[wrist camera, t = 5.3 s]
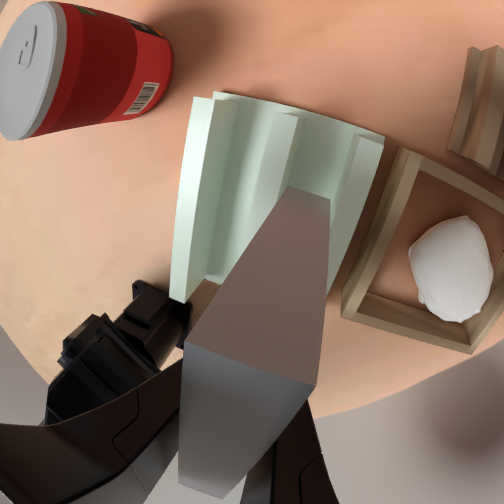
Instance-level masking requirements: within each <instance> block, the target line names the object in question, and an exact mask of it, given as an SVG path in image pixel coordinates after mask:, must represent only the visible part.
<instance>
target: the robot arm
mask: <svg viewBox="0 0 504 504" xmlns="http://www.w3.org/2000/svg"><path fill="white" fill-rule="evenodd" d="M132 292H133V301H132V302H131V303H130V304H129V305H128V306H127V307H126V308H125V309H124V311H123V313H122V314H121V315H120V316H119V317H118V318H117V319H116V320H115V321H114V322H112V321H111V320H110V319H109V316H108V315H107V314H106V313H104V314H103V315H102V316H101V317H99V316H96V315H94V314H92V315H91V316H90V317H88V318H87V319H86V320H85V321H84V322H83V323H82V324H81V325H80V326H79V327H78V328H77V329H75V330H74V331H73V332H72V333H71V334H70V335H68V336H67V337H66V338H65V339H64V340H63V351H62V352H61V355H62V356H61V357H60V358H59V360H58V361H57V362H58V363H59V364H60V365H61V367H62V368H63V369H62V370H61V371H60V372H59V373H58V374H57V375H56V376H55V378H54V379H53V381H52V382H51V384H50V385H49V388H48V396H47V404H46V414H45V419H44V420H43V421H42V422H41V423H40V424H39V425H38V426H31V425H30V426H29V425H15V424H3V423H0V504H143V503H144V502H145V500H146V499H147V497H148V495H149V494H150V493H151V491H152V490H153V488H154V487H155V485H156V483H157V482H158V480H159V479H160V478H161V476H162V474H163V473H164V471H165V470H166V468H167V467H168V465H169V463H170V462H171V461H172V459H173V458H174V456H175V454H176V453H177V451H178V450H179V417H180V396H181V379H182V365H183V358H181V359H180V360H178V361H177V362H175V363H174V364H172V365H171V366H169V367H167V368H166V369H164V370H163V371H161V370H160V368H161V367H162V365H163V364H164V362H165V361H166V359H167V358H168V356H169V355H170V353H171V352H172V351H173V349H174V348H175V347H177V348H180V349H182V350H184V341H185V339H186V338H187V336H188V335H189V333H190V327H191V318H192V309H193V306H192V304H191V303H189V302H187V301H186V302H185V303H182V302H179V301H177V300H174V299H172V298H170V297H169V294H168V293H165V292H163V291H160V290H158V289H156V288H153V287H151V286H149V285H146V284H144V283H142V282H139V281H135V282H134V283H133V284H132ZM187 307H188V308H187ZM321 452H322V451H321V447H320V443H319V440H318V436H317V432H316V428H315V424H314V421H313V417H312V413H311V410H310V406H309V402H308V399H307V400H306V401H305V403H304V404H303V405H302V407H301V408H300V409H299V411H298V412H297V413H296V415H295V416H294V417H293V419H292V420H291V421H290V423H289V424H288V425H287V427H286V428H285V429H284V431H283V432H282V433H281V434H280V436H279V437H278V438H277V439H276V441H275V442H274V443H273V444H272V445H271V447H270V448H269V449H268V450H267V451H266V453H265V454H264V455H263V456H262V457H261V459H260V460H259V461H258V462H257V463H256V464H255V465H254V467H253V468H252V469H251V470H250V471H249V472H248V473H247V477H246V481H245V485H244V489H243V494H242V497H241V501H240V504H339V502H338V499H337V497H336V494H335V492H334V489H333V487H332V484H331V481H330V479H329V475H328V472H327V469H326V465H325V462H324V458H323V454H322V453H321Z"/></svg>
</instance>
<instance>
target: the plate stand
mask: <svg viewBox="0 0 504 504" xmlns="http://www.w3.org/2000/svg"><path fill="white" fill-rule="evenodd" d="M446 149H447V150H449V151H451V152H453V153H455V154H457V155H459V156H460V157H462V158H464V159H466V160H468V161H469V162H471V163H473V164H474V165H476V166H478V167H479V168H481V169H483V170H484V171H486V172H488V173H489V174H491V175H492V176H494V177H496V178H497V179H499V180H500V181H502V182H503V183H504V50H503V49H502V48H501V47H499V46H498V45H496V46H493V47H491V48H488V49H485V50H483V51H480V50H478V49H477V48H475V47H471V48H468V56H467V62H466V69H465V74H464V80H463V85H462V90H461V95H460V99H459V104H458V108H457V112H456V116H455V120H454V124H453V128H452V131H451V135H450V138H449V142H448V145H447V148H446Z"/></svg>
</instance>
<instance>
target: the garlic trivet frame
mask: <svg viewBox="0 0 504 504" xmlns="http://www.w3.org/2000/svg"><path fill="white" fill-rule="evenodd" d="M418 170H421V171H423V172H426V173H428V174H430V175H432V176H434V177H436V178H438V179H440V180H442V181H444V182H446V183H448V184H450V185H452V186H454V187H456V188H458V189H460V190H462V191H464V192H466V193H467V194H469V195H471V196H473V197H475V198H477V199H478V200H480V201H482V202H484V203H485V204H487V205H489V206H490V207H492V208H494V209H495V210H497V211H499V212H500V213H502V214H503V215H504V200H502V199H501V198H499V197H497V196H496V195H494V194H493V193H491V192H489V191H488V190H486V189H484V188H483V187H481V186H479V185H478V184H476V183H474V182H472V181H471V180H469V179H467V178H465V177H463V176H462V175H460V174H458V173H456V172H454V171H452V170H450V169H448V168H446V167H444V166H442V165H440V164H438V163H436V162H434V161H432V160H430V159H428V158H426V157H424V156H422V155H419V154H417V153H415V152H413V151H410V150H408V149H405V148H403V147H400V146H398V150H397V153H396V156H395V159H394V162H393V165H392V168H391V171H390V174H389V177H388V180H387V183H386V186H385V188H384V191H383V194H382V197H381V199H380V202H379V205H378V207H377V210H376V213H375V215H374V218H373V220H372V223H371V225H370V228H369V230H368V233H367V235H366V238H365V240H364V243H363V245H362V247H361V250H360V252H359V254H358V257H357V259H356V261H355V264H354V266H353V268H352V270H351V272H350V275H349V277H348V279H347V281H346V283H345V286H344V288H343V290H342V292H341V317H342V318H345V319H348V320H351V321H354V322H358V323H361V324H364V325H368V326H371V327H374V328H377V329H381V330H384V331H388V332H391V333H394V334H398V335H401V336H405V337H408V338H412V339H415V340H419V341H422V342H426V343H430V344H433V345H437V346H441V347H444V348H448V349H452V350H456V351H459V352H463V353H467V354H472V353H473V352H474V351H475V349H476V348H477V347H478V346H479V344H480V343H481V342H482V340H483V339H484V338H485V336H486V335H487V334H488V332H489V331H490V330H491V328H492V327H493V325H494V324H495V322H496V321H497V320H498V318H499V317H500V315H501V314H502V312H503V311H504V251H503V253H502V255H501V257H500V259H499V261H498V263H497V265H496V267H495V269H494V270H493V280H492V283H491V286H490V291H489V295H488V297H487V299H486V301H485V302H484V304H483V305H482V307H481V311H480V312H479V313H476V314H475V315H473V316H472V317H469V319H465V320H464V321H462V322H461V323H459V322H456V321H445V320H442V319H441V318H440V317H438V316H437V315H435V314H432V313H429V312H426V311H423V310H420V309H417V308H414V307H411V306H408V305H405V304H402V303H399V302H396V301H393V300H390V299H387V298H384V297H381V296H378V295H375V294H372V293H369V292H367V290H368V288H369V286H370V284H371V282H372V280H373V278H374V276H375V274H376V272H377V270H378V267H379V265H380V263H381V261H382V259H383V257H384V255H385V253H386V250H387V248H388V246H389V244H390V241H391V239H392V237H393V235H394V232H395V230H396V228H397V225H398V223H399V220H400V218H401V215H402V213H403V210H404V208H405V205H406V203H407V200H408V198H409V195H410V192H411V190H412V187H413V184H414V181H415V179H416V176H417V173H418Z"/></svg>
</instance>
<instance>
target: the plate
mask: <svg viewBox="0 0 504 504" xmlns="http://www.w3.org/2000/svg"><path fill="white" fill-rule="evenodd" d="M330 202H331V199H328V198H325V197H322V196H319V195H316V194H313V193H310V192H307V191H303V190H300V189H297V188H294V187H291V186H288V187H287V188H286V189H285V191H284V192H283V194H282V195H281V197H280V198H279V200H278V201H277V203H276V204H275V206H274V207H273V209H272V210H271V212H270V213H269V215H268V216H267V218H266V219H265V221H264V222H263V224H262V225H261V227H260V228H259V230H258V231H257V232H256V234H255V235H254V237H253V238H252V240H251V241H250V243H249V244H248V246H247V247H246V249H245V250H244V252H243V253H242V255H241V256H240V258H239V259H238V261H237V262H236V264H235V265H234V267H233V268H232V270H231V271H230V273H229V274H228V276H227V277H226V279H225V280H224V282H223V283H222V285H221V286H220V288H219V289H218V291H217V292H216V294H215V295H214V297H213V298H212V300H211V301H210V303H209V304H208V306H207V307H206V309H205V310H204V312H203V313H202V315H201V316H200V318H199V319H198V321H197V322H196V324H195V325H194V327H193V329H192V330H191V332H190V333H189V335H188V336H187V338H186V339H185V341H184V352H183V365H182V379H181V396H180V417H179V450H178V451H179V452H178V453H179V455H178V483H179V484H182V485H184V486H187V487H189V488H192V489H194V490H197V491H200V492H203V493H205V494H208V495H211V496H214V497H217V498H220V499H223V498H224V497H225V496H226V495H227V494H228V493H229V492H230V491H231V490H232V489H233V488H234V487H235V486H236V485H237V484H238V483H239V482H240V481H241V480H242V479H243V478H244V476H245V475H246V474H247V473H248V472H249V471H250V470H251V469H252V468H253V467H254V465H255V464H256V463H257V462H258V461H259V460H260V459H261V457H262V456H263V455H264V454H265V453H266V451H267V450H268V449H269V448H270V447H271V445H272V444H273V443H274V442H275V441H276V439H277V438H278V437H279V436H280V434H281V433H282V432H283V431H284V429H285V428H286V427H287V425H288V424H289V423H290V421H291V420H292V419H293V417H294V416H295V415H296V413H297V412H298V411H299V409H300V408H301V407H302V405H303V404H304V403H305V401H306V400H307V398H308V397H309V395H310V394H311V393H312V391H313V390H314V388H315V387H316V382H317V375H318V368H319V360H320V352H321V343H322V334H323V324H324V314H325V303H326V290H327V276H328V259H329V238H330Z"/></svg>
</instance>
